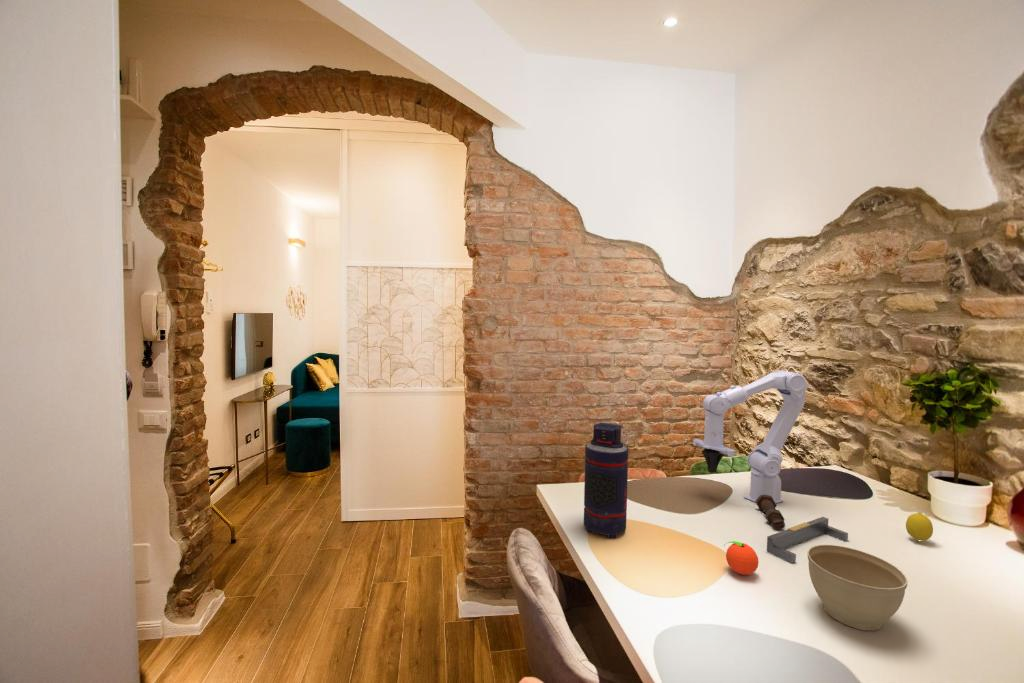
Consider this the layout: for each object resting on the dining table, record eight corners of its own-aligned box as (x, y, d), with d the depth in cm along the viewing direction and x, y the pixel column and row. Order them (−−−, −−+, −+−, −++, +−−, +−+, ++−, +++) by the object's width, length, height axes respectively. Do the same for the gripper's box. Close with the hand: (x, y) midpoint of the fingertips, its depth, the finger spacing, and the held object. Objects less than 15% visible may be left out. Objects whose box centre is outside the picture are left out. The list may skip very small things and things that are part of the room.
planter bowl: (878, 655, 81) (882, 597, 81) (788, 604, 96) (791, 554, 95) (920, 628, 89) (923, 574, 88) (831, 584, 103) (833, 538, 103)
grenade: (618, 543, 121) (620, 432, 119) (576, 532, 127) (579, 426, 125) (633, 523, 132) (636, 422, 131) (595, 514, 139) (597, 417, 137)
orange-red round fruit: (715, 568, 109) (716, 540, 109) (729, 559, 113) (731, 532, 113) (749, 584, 103) (750, 554, 102) (763, 574, 107) (764, 545, 107)
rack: (822, 530, 130) (822, 515, 130) (847, 540, 124) (848, 525, 124) (766, 551, 117) (767, 535, 117) (792, 563, 112) (792, 547, 112)
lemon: (927, 539, 125) (928, 511, 125) (935, 548, 120) (937, 519, 120) (901, 534, 128) (903, 507, 127) (909, 543, 123) (911, 514, 122)
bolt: (775, 537, 129) (761, 513, 144) (793, 530, 128) (777, 507, 142) (765, 518, 130) (752, 497, 144) (782, 512, 128) (768, 491, 143)
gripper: (687, 428, 154) (686, 467, 155) (725, 438, 141) (723, 480, 142) (701, 425, 157) (700, 464, 158) (739, 435, 145) (738, 477, 145)
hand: (712, 471), depth 150 cm, fingers closed
